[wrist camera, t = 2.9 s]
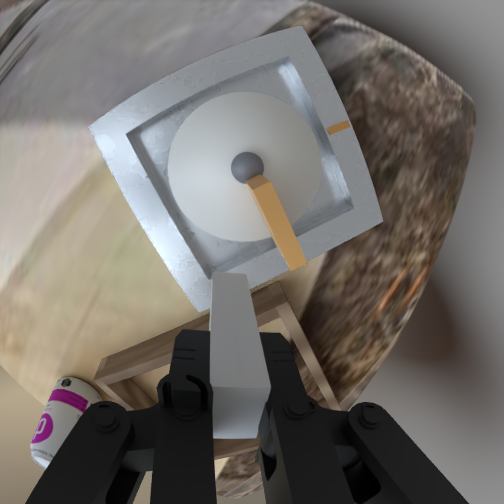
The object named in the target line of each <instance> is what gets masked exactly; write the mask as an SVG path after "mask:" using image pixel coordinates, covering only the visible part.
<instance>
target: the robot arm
mask: <svg viewBox="0 0 504 504" xmlns="http://www.w3.org/2000/svg"><path fill="white" fill-rule="evenodd" d="M157 392H158V398H159V403H157V404H156V405H154V406H152V407H150V408H145V409H139V410H130V411H127V410H126V409H125V408H124V407H122V406H121V405H119V404H118V403H115V402H111V401H99V402H96V403H94V404H92V405H90V406H89V407H88V408H87V409H86V410H85V411H84V412H83V414H82V415H81V417H80V418H79V420H78V421H77V423H76V424H75V425H74V427H73V428H72V430H71V431H70V433H69V434H68V436H67V437H66V439H65V440H64V442H63V443H62V445H61V446H60V448H59V449H58V451H57V453H56V454H55V456H54V457H53V459H52V460H51V462H50V463H49V465H48V467H47V468H46V470H45V471H44V473H43V475H42V476H41V478H40V479H39V481H38V483H37V485H36V486H35V488H34V489H33V491H32V493H31V494H30V496H29V498H28V500H27V501H26V503H25V504H133V501H134V499H135V496H136V494H137V492H138V489H139V487H140V485H141V482H142V480H143V478H144V475H145V473H146V471H153V472H152V483H151V497H150V504H217V499H216V484H215V466H214V444H213V438H222V439H246V438H256V437H257V434H258V433H259V439H260V445H259V448H258V451H257V453H256V456H255V462H258V461H259V462H260V468H261V475H262V481H263V487H264V493H265V499H266V504H469V503H468V502H467V501H466V500H465V499H464V498H463V496H462V495H461V494H460V493H459V492H458V491H457V490H456V489H455V488H454V486H453V485H452V484H451V483H450V482H449V481H448V480H447V479H446V477H445V476H444V475H443V474H442V473H441V472H440V471H439V470H438V468H437V467H436V466H435V465H434V464H433V463H432V462H431V461H430V460H429V459H428V458H427V456H426V455H425V454H424V453H423V452H422V451H421V449H420V448H419V447H418V446H417V445H416V444H415V443H414V442H413V440H412V439H411V438H410V437H409V436H408V435H407V434H406V433H405V431H404V430H403V429H402V428H401V427H400V426H399V425H398V424H397V422H396V421H395V420H394V419H393V418H392V417H391V416H390V415H389V414H388V413H387V411H386V410H385V409H383V408H382V407H381V406H379V405H377V404H375V403H370V402H362V403H358V404H356V405H355V406H353V407H352V408H351V410H350V411H349V412H348V411H340V410H332V409H327V408H323V407H321V406H319V405H318V403H317V402H316V401H315V400H314V399H313V398H311V397H310V396H308V395H307V393H306V391H305V388H304V385H303V382H302V379H301V377H300V374H299V371H298V368H297V365H296V362H295V359H294V356H293V354H292V350H291V348H290V345H289V342H288V341H287V340H286V339H285V337H284V336H283V335H282V334H281V333H265V332H259V330H258V326H257V321H256V316H255V312H254V307H253V302H252V298H251V293H250V288H249V284H248V279H247V274H240V273H226V272H213V277H212V291H211V306H210V323H209V331H203V330H190V329H182V330H181V332H180V333H179V334H178V335H177V336H176V337H175V342H174V348H173V353H172V359H171V365H170V371H169V374H167V375H166V376H165V377H163V378H162V379H161V380H160V382H159V384H158V386H157Z"/></svg>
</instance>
